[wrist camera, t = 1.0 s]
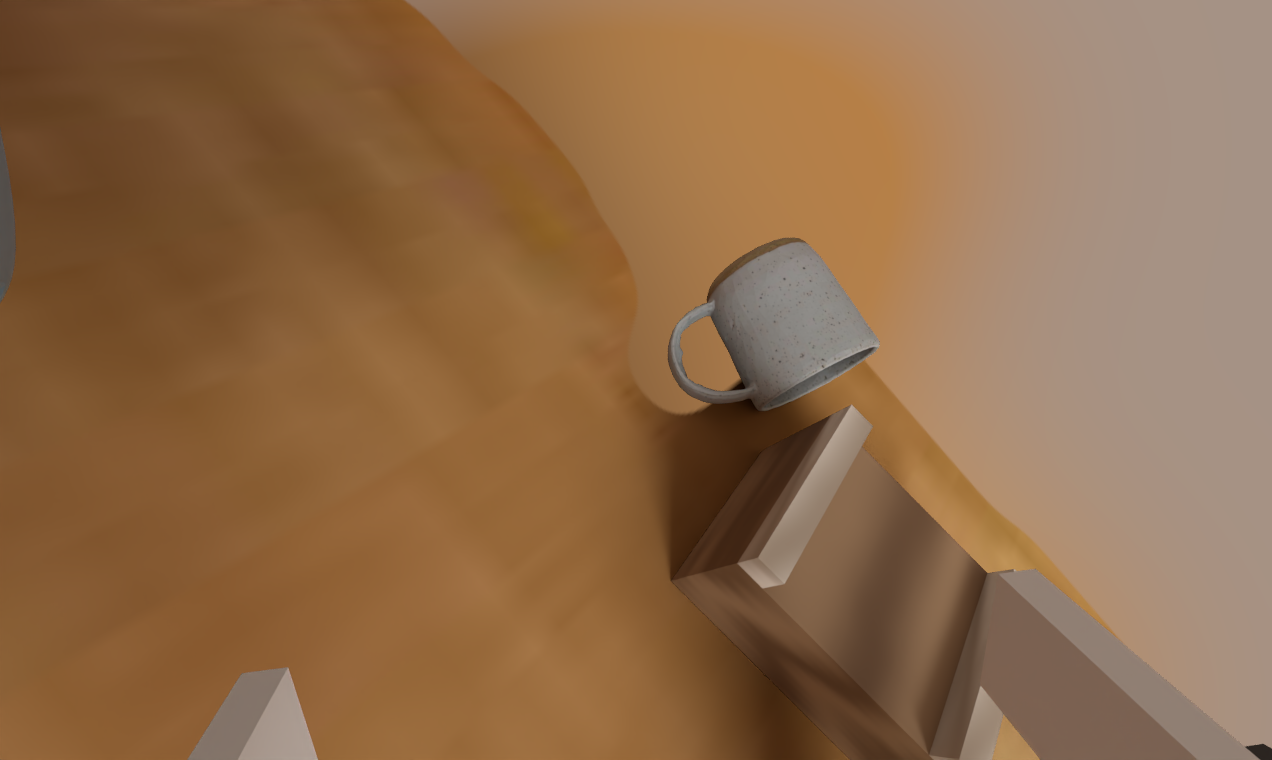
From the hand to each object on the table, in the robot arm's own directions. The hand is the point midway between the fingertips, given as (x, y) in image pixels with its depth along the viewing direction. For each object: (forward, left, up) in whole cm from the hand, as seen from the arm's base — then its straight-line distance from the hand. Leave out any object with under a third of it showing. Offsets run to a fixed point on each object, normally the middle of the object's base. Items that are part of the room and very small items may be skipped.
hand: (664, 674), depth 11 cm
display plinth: (+11, +14, -17) cm, 24 cm away
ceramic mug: (0, +23, -17) cm, 28 cm away
